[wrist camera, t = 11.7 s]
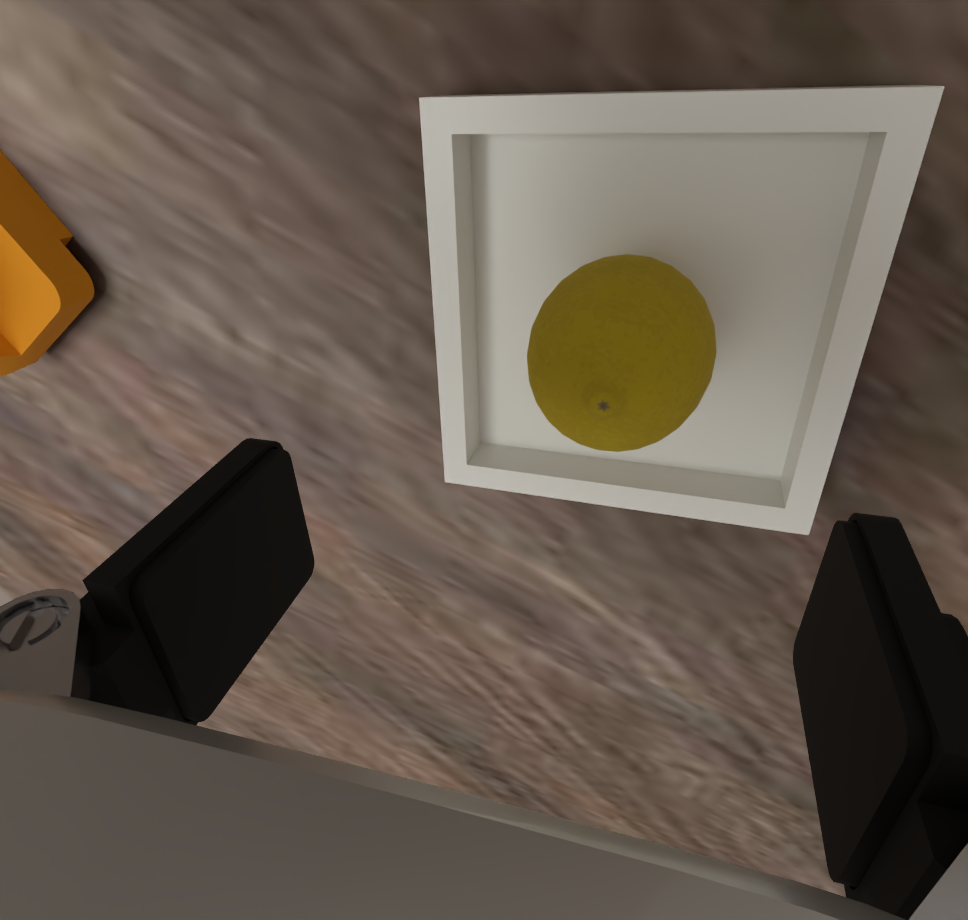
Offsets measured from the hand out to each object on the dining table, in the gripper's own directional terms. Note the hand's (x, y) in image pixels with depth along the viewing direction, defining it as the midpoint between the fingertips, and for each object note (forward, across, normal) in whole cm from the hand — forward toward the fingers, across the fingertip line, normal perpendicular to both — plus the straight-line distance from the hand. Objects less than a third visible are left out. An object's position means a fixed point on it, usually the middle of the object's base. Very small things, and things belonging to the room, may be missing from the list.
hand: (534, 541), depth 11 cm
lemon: (+14, -1, +1) cm, 14 cm away
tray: (+15, -1, +1) cm, 15 cm away
